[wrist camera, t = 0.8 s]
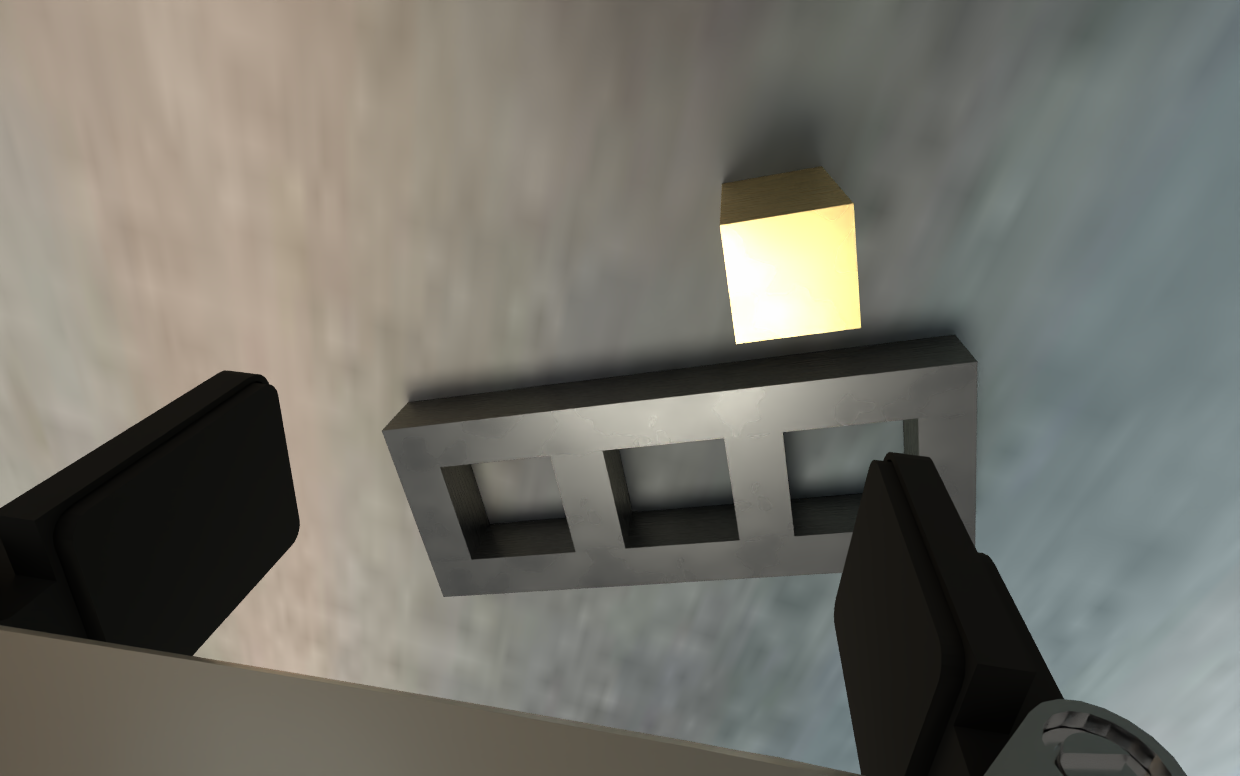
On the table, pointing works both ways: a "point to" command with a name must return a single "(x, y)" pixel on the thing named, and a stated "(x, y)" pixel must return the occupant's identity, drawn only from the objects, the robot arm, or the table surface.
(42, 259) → the table surface
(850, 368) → the steel rail
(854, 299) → the brass peg
